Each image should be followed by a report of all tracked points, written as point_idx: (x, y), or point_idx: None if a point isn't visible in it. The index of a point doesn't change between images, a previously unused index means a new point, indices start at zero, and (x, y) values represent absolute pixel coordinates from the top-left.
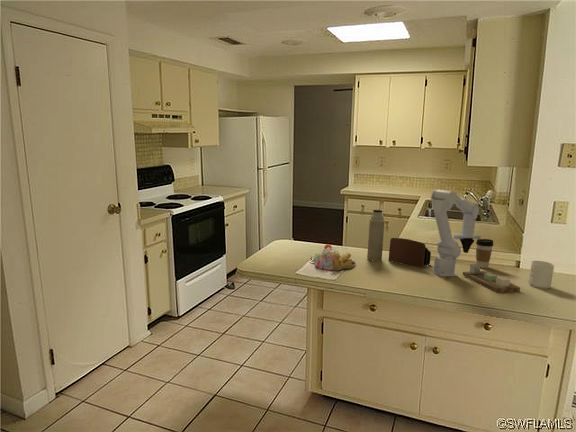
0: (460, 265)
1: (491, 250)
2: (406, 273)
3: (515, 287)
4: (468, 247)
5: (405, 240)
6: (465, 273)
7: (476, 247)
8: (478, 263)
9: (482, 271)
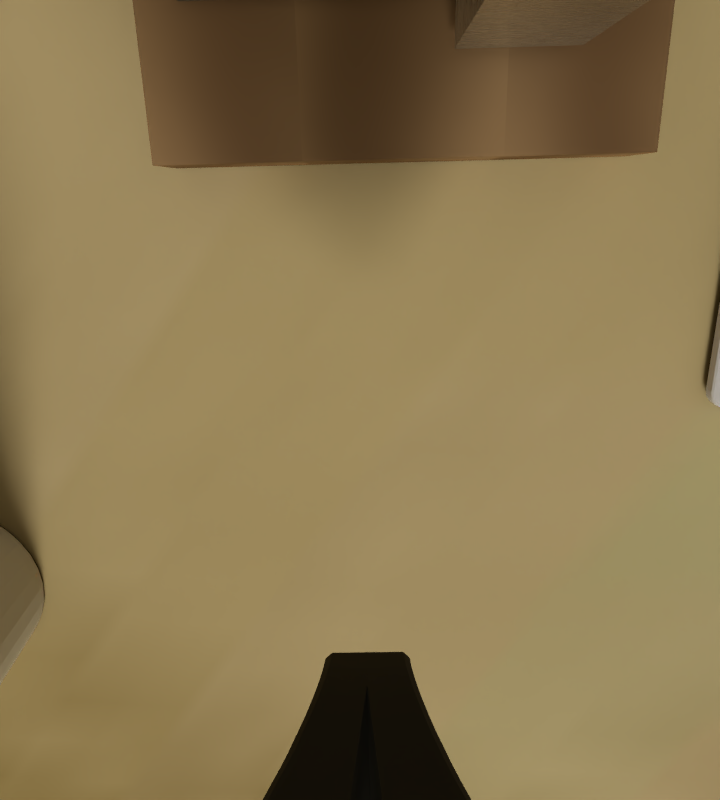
0: (274, 666)
1: None
2: None
3: None
4: (349, 792)
5: None
6: (662, 58)
7: None
8: (4, 604)
9: (206, 136)
